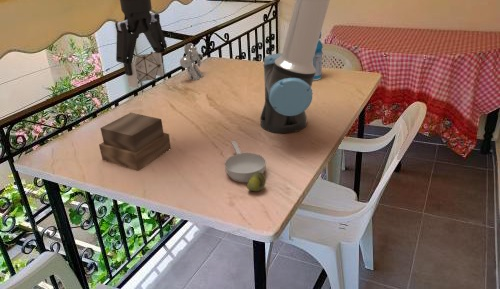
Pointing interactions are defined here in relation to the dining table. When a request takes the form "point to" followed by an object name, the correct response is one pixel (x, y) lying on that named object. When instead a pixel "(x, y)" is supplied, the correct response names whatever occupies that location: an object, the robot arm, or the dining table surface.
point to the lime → (256, 182)
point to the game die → (146, 67)
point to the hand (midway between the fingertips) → (146, 80)
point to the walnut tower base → (137, 156)
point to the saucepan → (244, 165)
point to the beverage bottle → (318, 60)
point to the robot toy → (191, 57)
